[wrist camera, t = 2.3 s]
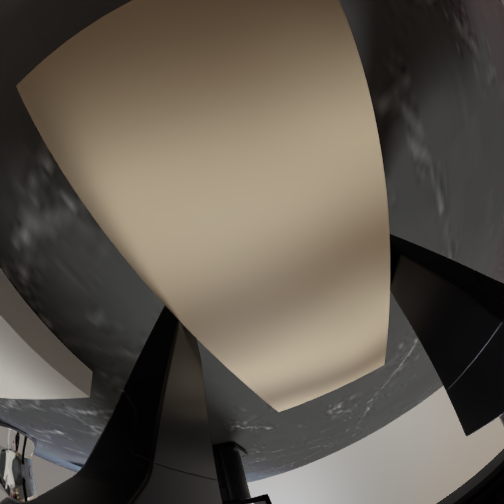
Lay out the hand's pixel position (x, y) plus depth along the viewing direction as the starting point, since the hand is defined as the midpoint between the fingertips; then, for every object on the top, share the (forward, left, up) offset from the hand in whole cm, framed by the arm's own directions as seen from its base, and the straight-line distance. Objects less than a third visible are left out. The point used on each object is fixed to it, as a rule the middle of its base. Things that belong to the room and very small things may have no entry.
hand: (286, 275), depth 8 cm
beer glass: (-16, +34, -1) cm, 38 cm away
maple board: (0, 0, -1) cm, 1 cm away
